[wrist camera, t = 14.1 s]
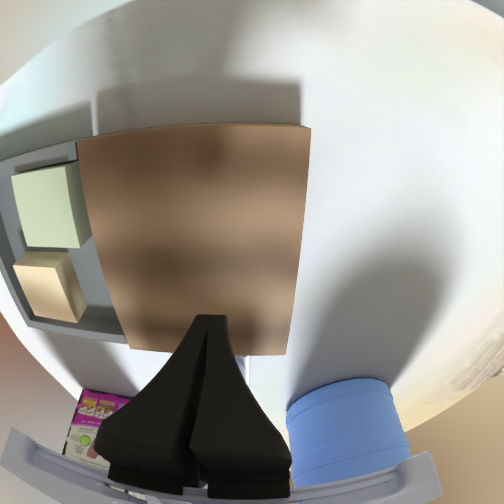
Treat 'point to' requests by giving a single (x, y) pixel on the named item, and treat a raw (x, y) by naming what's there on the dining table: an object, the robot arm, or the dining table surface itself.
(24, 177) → the sage tile
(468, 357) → the dining table surface
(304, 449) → the water jug
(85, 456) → the candy bar box
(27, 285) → the ash block
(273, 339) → the walnut board
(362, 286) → the dining table surface
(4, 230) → the tray
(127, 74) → the dining table surface
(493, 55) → the dining table surface
